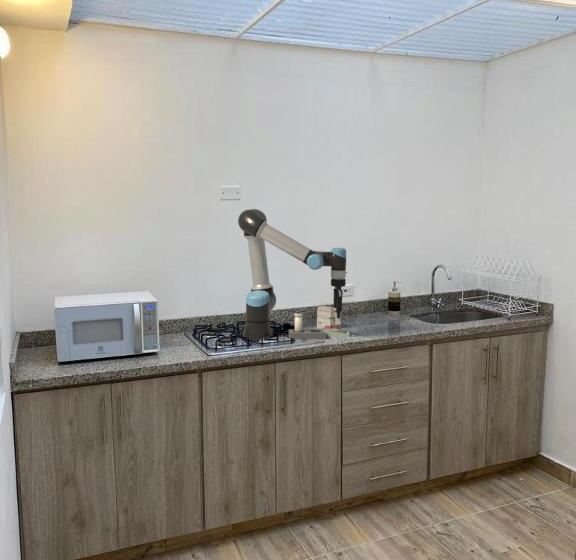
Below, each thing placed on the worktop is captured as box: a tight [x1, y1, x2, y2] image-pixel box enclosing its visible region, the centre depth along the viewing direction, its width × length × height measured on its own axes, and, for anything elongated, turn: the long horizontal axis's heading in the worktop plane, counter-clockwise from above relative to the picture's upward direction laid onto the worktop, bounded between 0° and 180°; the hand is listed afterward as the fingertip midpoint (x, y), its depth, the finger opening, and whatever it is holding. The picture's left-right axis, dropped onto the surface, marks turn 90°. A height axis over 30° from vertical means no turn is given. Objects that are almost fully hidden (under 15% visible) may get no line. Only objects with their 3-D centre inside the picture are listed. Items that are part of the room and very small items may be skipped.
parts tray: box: [324, 329, 351, 338], centre depth 311 cm, size 12×9×2 cm
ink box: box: [316, 305, 334, 329], centre depth 328 cm, size 9×5×12 cm, turn 58°
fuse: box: [294, 312, 304, 332], centre depth 303 cm, size 4×4×12 cm
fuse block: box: [288, 328, 327, 340], centre depth 304 cm, size 18×9×4 cm, turn 95°
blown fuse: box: [332, 307, 342, 332], centre depth 310 cm, size 4×4×12 cm
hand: (337, 323), depth 310 cm, fingers closed on blown fuse, 4 cm apart
